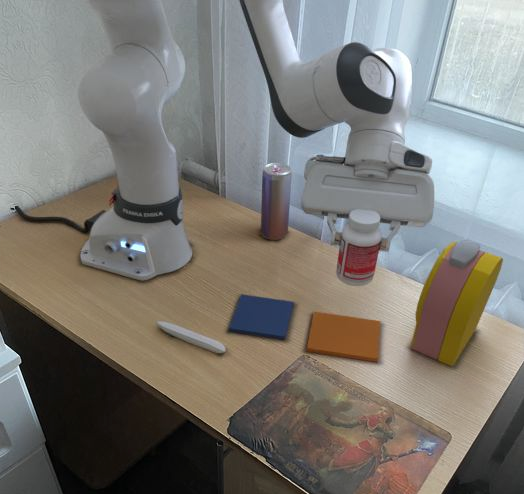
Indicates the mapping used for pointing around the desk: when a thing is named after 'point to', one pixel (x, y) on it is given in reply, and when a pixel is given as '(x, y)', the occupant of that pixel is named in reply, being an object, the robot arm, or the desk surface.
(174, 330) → the pen
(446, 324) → the alarm clock
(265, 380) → the desk surface
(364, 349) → the amber mat
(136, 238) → the robot arm
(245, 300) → the blue mat
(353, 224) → the pill bottle
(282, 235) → the beverage can
